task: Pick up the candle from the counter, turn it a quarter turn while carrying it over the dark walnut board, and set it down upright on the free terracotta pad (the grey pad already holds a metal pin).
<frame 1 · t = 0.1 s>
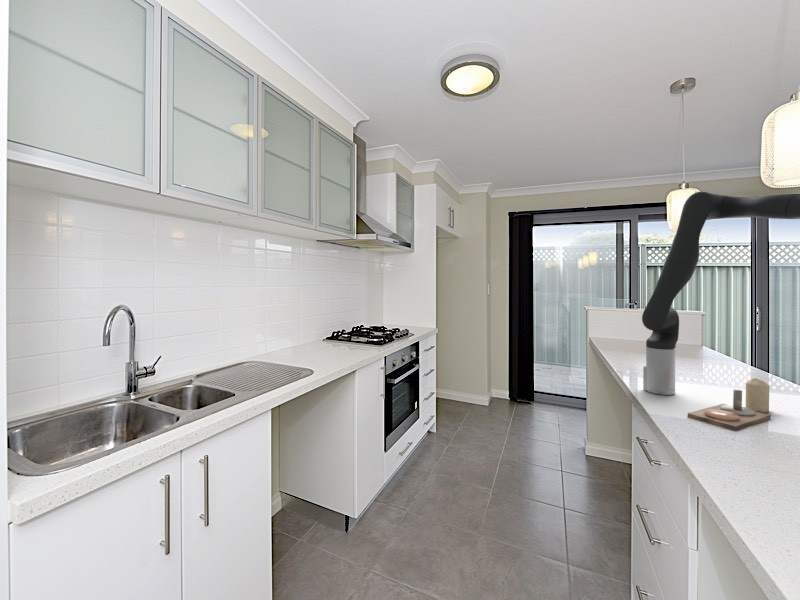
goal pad: (721, 416, 111), resting on board
candle: (757, 410, 120), on the countertop
board: (728, 417, 113), on the countertop
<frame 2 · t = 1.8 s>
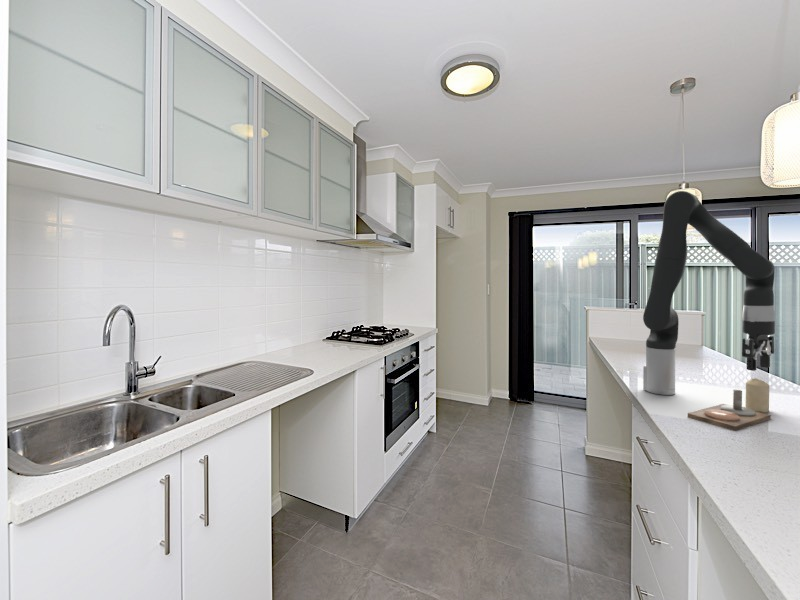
hand: (758, 368, 119), 14 cm above the countertop, fingers open, 8 cm apart
nothing on the countertop moved.
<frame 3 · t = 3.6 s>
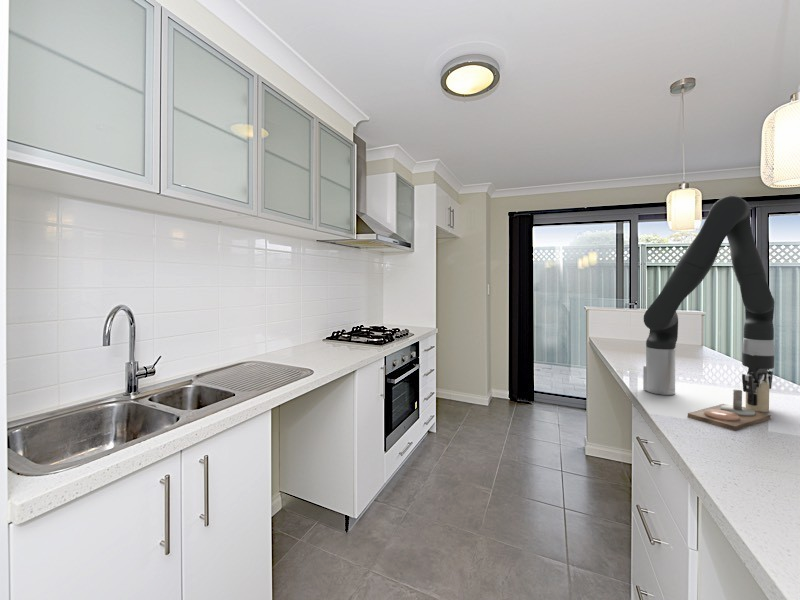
hand: (757, 403, 120), 2 cm above the countertop, fingers closed on candle, 5 cm apart
candle: (757, 410, 120), on the countertop, touching gripper
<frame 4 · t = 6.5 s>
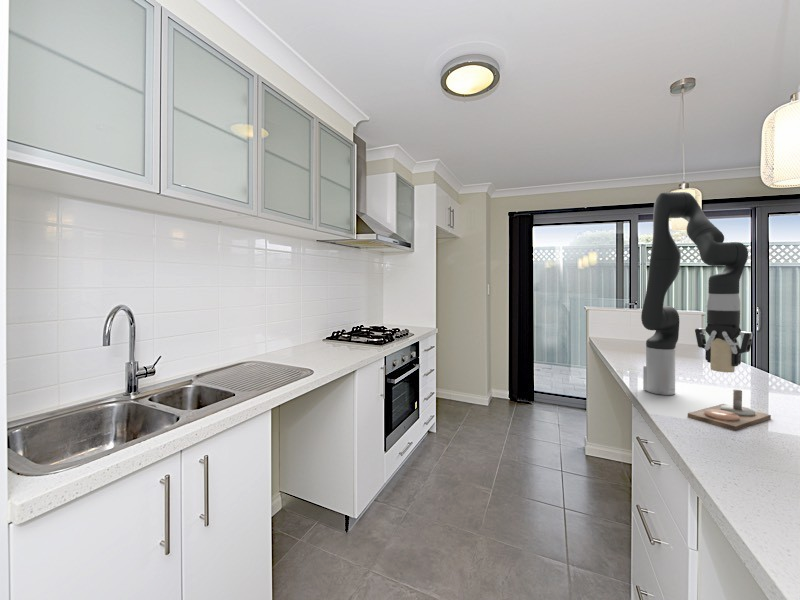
hand: (722, 363, 111), 17 cm above the countertop, fingers closed on candle, 5 cm apart
candle: (722, 371, 111), point 15 cm above the countertop, touching gripper
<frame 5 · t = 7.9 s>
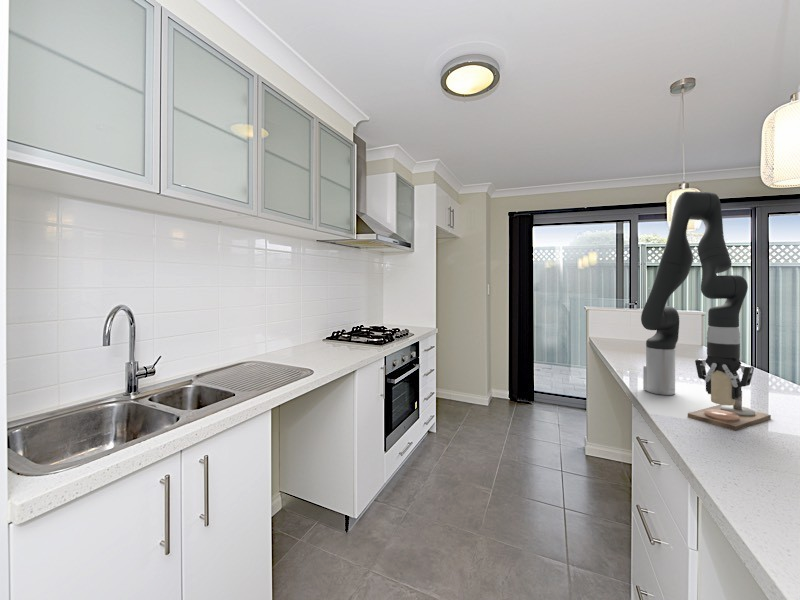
hand: (722, 396, 111), 7 cm above the countertop, fingers closed on candle, 5 cm apart
candle: (722, 403, 111), point 5 cm above the countertop, touching gripper
when the fingers open (5 cm above the countertop, at t = 9.2 s): candle drops 1 cm, resting on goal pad.
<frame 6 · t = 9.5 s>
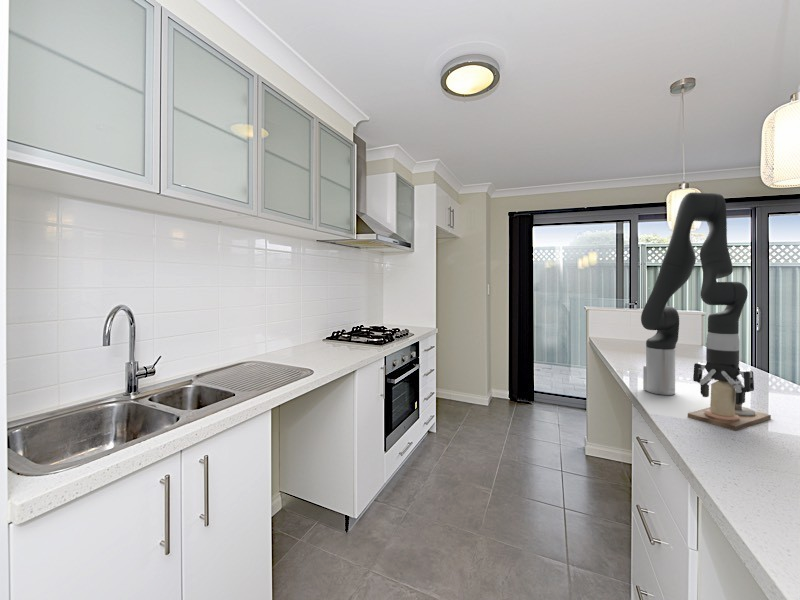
hand: (721, 400, 111), 6 cm above the countertop, fingers open, 8 cm apart
candle: (722, 414, 111), point 2 cm above the countertop, touching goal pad
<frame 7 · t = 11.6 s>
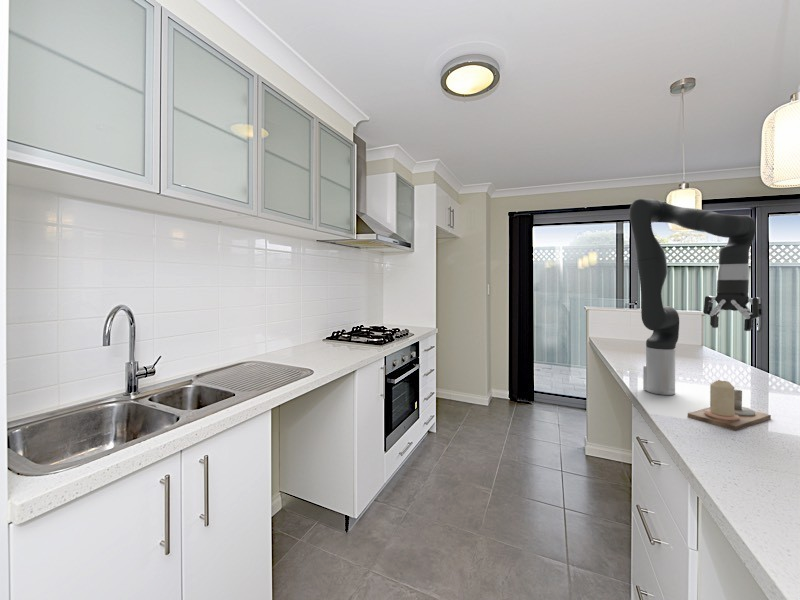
hand: (730, 329, 117), 27 cm above the countertop, fingers open, 8 cm apart
nothing on the countertop moved.
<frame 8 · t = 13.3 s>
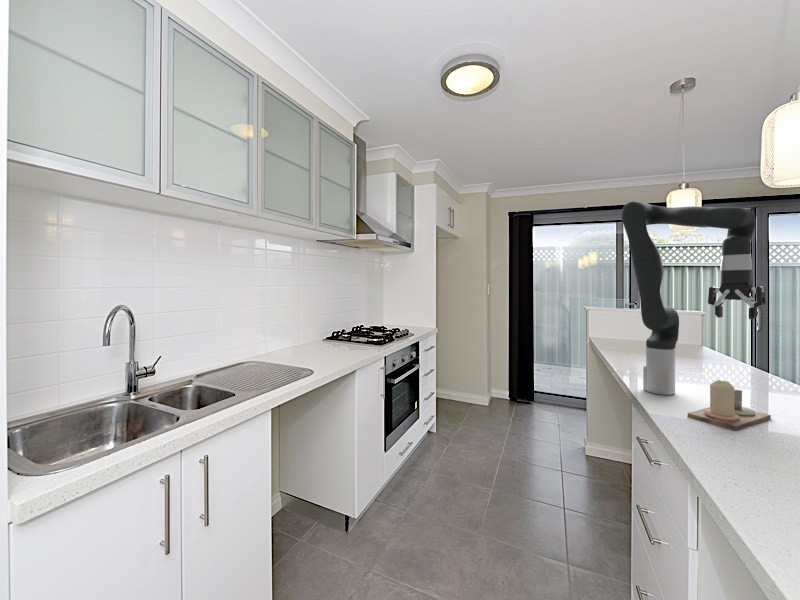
hand: (735, 318, 120), 30 cm above the countertop, fingers open, 8 cm apart
nothing on the countertop moved.
at the end: candle 0.1 cm from the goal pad (horizontally); candle tilted 1°; candle point 1.8 cm above the countertop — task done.
